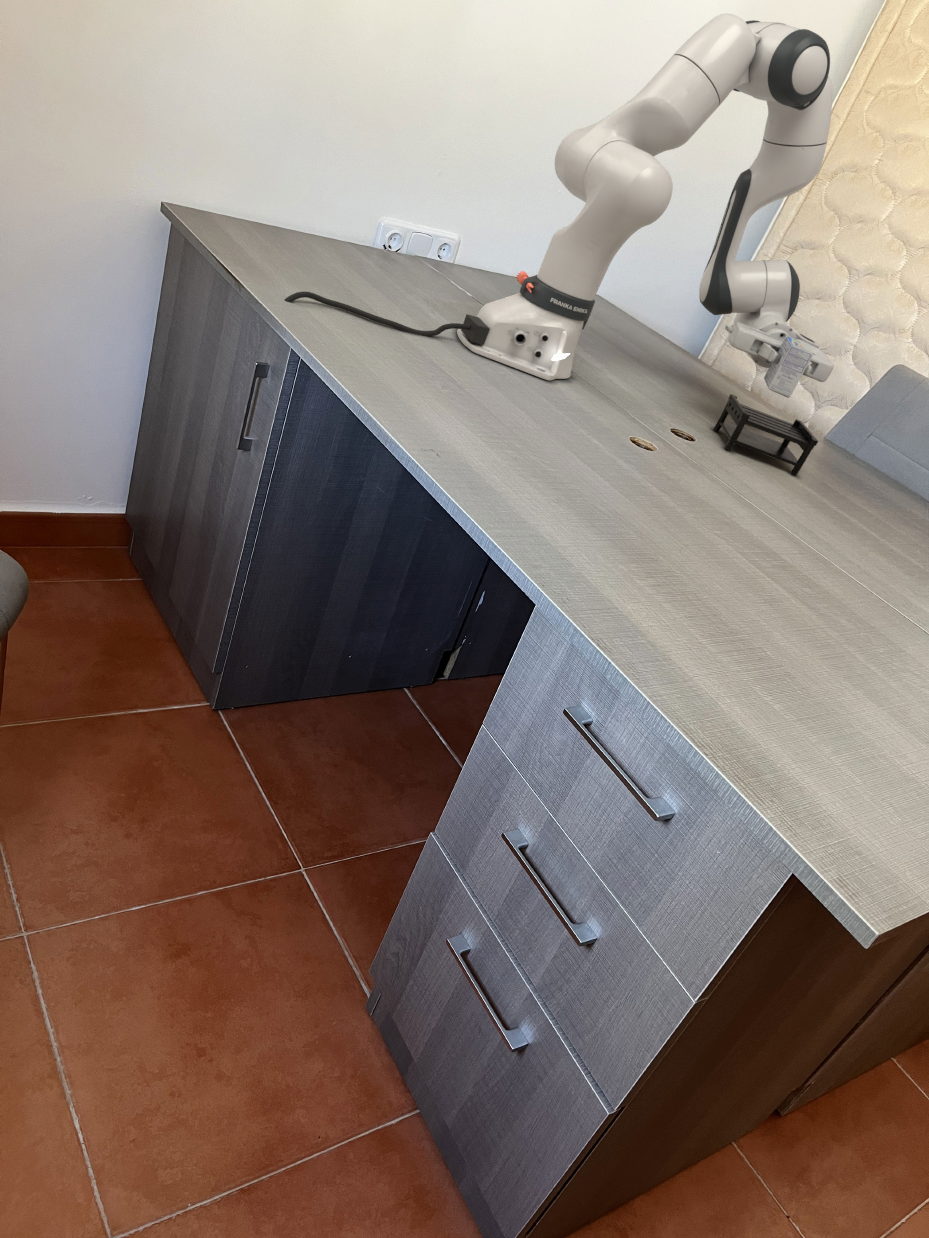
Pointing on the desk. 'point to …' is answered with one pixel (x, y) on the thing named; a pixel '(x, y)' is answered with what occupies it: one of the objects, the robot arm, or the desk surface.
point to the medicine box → (788, 367)
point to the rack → (768, 424)
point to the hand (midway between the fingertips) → (791, 364)
